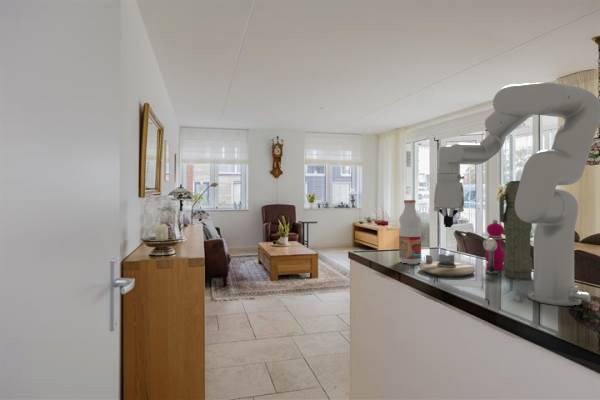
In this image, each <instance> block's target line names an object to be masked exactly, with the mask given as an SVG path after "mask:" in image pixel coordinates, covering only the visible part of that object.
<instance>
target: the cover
mask: <svg viewBox="0 0 600 400" xmlns="http://www.w3.org/2000/svg"><path fill="white" fill-rule="evenodd" d="M438 262H439V263H437V266H438V267H442V268H455V267H456V264H454V262H455V254H452V253H438Z"/></svg>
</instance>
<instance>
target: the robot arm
mask: <svg viewBox="0 0 600 400" xmlns="http://www.w3.org/2000/svg"><path fill="white" fill-rule="evenodd" d="M492 107H493V110H494V111H493V112H492V113H490V115H489V116H488V117H486V119H485V120H484V126H485V129H486V131H487V132H488V135H487V136H486V137H485V138H484V139H482V140H481V141H480V142H479V143H469V142H467V143H466V142H459V143H454V144H452V145H444V146H441V147H439V150H438V179H437V180H438V181H437V182H436V185H435V188H434V197H433V206H434V208H433V211H434V212H438V213H440V214H441V215H442V217H443V225H444V227H445V228H452V226H453V225H454V216H456V215H457V214H458V213H463V212H464V211H465V210H464V207H465V195H464V194H465V193H464V185H463V181H462V180H464V178H465V176H464V175H461V165H473V166H474V165H475V166H476V165H477V166H478V165H482V164H483V163H486V162H488V161H490V159H491V158H493V157H494V156H495V155H497V154H498V153H499V152H500V151H501V149H502V147H503V146H504V144H505V142H506V137H507V136H508V135H510V134H511V133H512V132H513V131H515V129H517V128H518V127H519V126H521V125H522V124H523V123H524V122H525V121H527V120H528V119H529V118H530V117H532V116H545V117H546V116H547V117H553V118H554V117H555V118H561V119H564V120H563V122H562V123H561V125H560V126H559V128H558V129H557V131H556V134H555V136H554V140H553V143H552V147H551V148H550V149H543V150H539V151H537V152H534V153H533V154H532V155H531V156H530V157H529V158H527V161H526V163H525V164H524V166H523V169H522V172H521V177H520V179H519V181H520V183H519V187H518V191H517V194H516V198H515V212H516V214H517V216H518V217H519V218H520V219H521V220H522V221H524V222H527V223H532V225H533V224H536V226H535V230H534V232H533V233H534V235H533V290H529V291H528V292H527V297H528V299H530V300H532V301H534V302H537V303H542V304H547V305H554V306H559V307H562V306H563V307H573V306H574V305H576V306H580V305H581V304H582V301H583V302H586V303H590V302H591V300H592V296H591V294H590V293H588V292H583V291H580V290H579V287H580V286H579V285H575V234H576V233H575V232H576V224H577V218H578V215H579V204H578V201H577V198H576V197H575V196H574V195H573V194H572V193H571V192H569V191H567V190H564V189H562V188H561V189H560V188H557V186H569V185H573V184H576V183H577V182H579V181H580V180H581V178H582V177H583V174H584V171H585V169H586V165H587V162H588V159H589V156H590V152H591V149H592V146H593V143H594V138H595V135H596V132H597V130H598V127H599V125H600V99H599V98H598V97H597V96H596V95H595V94H594V93H593V92H592V91H590V90H587V89H585V88H582V87H579V86H574V85H568V84H562V83H561V84H560V83H557V82H549V81H548V82H544V81H543V82H535V83H534V82H533V83H522V84H520V83H519V84H509V85H506V86H504V87H501V89H499V90H498V91H497V92H496V94H495V95H494V97H493V100H492ZM460 181H462V182H460ZM448 209H449V212H448Z"/></svg>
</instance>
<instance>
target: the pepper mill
mask: <svg viewBox="0 0 600 400" xmlns="http://www.w3.org/2000/svg"><path fill="white" fill-rule="evenodd" d="M498 222H499V221H498V220H497V219H492V223H489V224H488V225H487V227H486V232H487V233H488V235H487V236H488V238H492V239H494V240H495V241H496V242H497V248H496V250H494V271H496V270H497V271H498V270H499V271H502V270H504V256H505V252H504V250H503V248H502V247H503V246H502V239H503V235H502V234H503V233H504V232H505V230H504V225H502V224H501V223H498ZM484 257H485V260H486V262H487V263H486V269H487V270H489V251H485V256H484Z"/></svg>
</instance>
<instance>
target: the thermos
mask: <svg viewBox="0 0 600 400" xmlns="http://www.w3.org/2000/svg"><path fill="white" fill-rule="evenodd" d="M519 183H520V180H510V181H508V182H507V185H506V187H505V193H502V194H501V195H500V196H499V222H500V223H502V224H503V229H504V235H505V239H504V245H505V246H504V247H505V248H504V249H505V252H504V254H505V256H504V262H503V264H504V269H503V270H504V271H503V272H504V274H503V276H504V278H507V279H509V280H510V279H511V280H518V281H528V280H529V281H530V280H532V278H533V277H532V273H533V259H532V256H531V232H532V230H533V224H532V223H527V222H524V221H522V220H521V219H520V218H519V217H518V216H517V214H516V212H515V198H516V194H517V191H518V187H519ZM505 204H506V205H505Z"/></svg>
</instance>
